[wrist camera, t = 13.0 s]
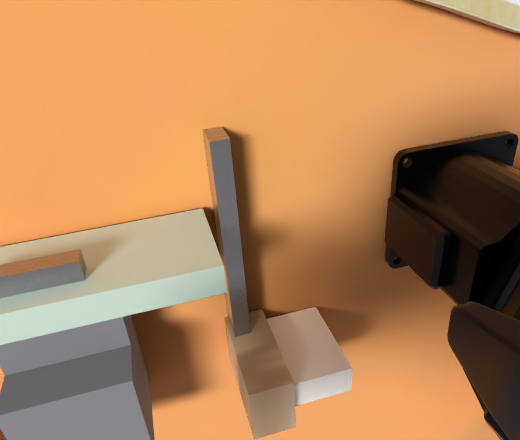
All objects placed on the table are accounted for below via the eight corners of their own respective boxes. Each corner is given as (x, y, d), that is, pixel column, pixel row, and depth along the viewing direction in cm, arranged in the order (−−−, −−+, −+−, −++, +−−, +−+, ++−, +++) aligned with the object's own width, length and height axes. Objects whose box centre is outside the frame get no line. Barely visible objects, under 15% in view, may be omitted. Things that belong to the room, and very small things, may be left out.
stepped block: (112, 246, 20) (111, 312, 16) (149, 380, 24) (156, 457, 20) (-13, 271, 19) (-45, 348, 15) (49, 406, 23) (36, 492, 19)
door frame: (314, 112, 19) (370, 152, 15) (316, 336, 26) (355, 408, 21) (-394, 222, 14) (-606, 327, 10) (-170, 464, 21) (-242, 589, 17)
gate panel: (200, 191, 19) (221, 246, 15) (206, 231, 20) (227, 292, 16) (-164, 257, 16) (-247, 344, 13) (-136, 300, 17) (-205, 392, 14)
